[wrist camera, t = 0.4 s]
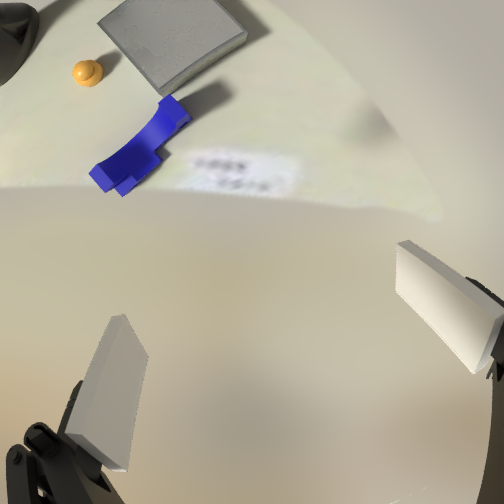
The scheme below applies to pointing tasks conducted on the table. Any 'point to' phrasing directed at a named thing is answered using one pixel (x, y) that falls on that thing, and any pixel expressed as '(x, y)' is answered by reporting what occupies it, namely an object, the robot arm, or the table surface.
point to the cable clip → (140, 150)
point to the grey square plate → (172, 37)
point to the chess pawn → (88, 73)
